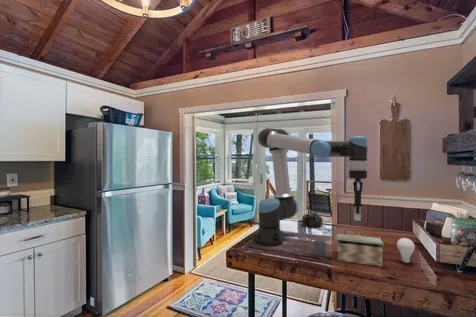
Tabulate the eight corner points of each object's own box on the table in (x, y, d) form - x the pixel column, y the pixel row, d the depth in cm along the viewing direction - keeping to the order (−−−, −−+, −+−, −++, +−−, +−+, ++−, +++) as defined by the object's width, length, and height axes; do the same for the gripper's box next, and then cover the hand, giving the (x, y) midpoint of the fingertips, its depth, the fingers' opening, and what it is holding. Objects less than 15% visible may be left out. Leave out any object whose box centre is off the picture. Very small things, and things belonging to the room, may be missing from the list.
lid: (336, 239, 116) (336, 237, 116) (337, 235, 126) (337, 233, 126) (383, 244, 108) (383, 242, 108) (379, 239, 119) (379, 237, 119)
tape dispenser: (354, 257, 124) (393, 253, 125) (354, 246, 123) (393, 242, 125) (338, 242, 141) (372, 239, 143) (337, 233, 141) (372, 230, 142)
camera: (302, 228, 167) (302, 213, 166) (301, 224, 176) (301, 210, 176) (323, 229, 164) (323, 214, 164) (321, 225, 174) (321, 210, 174)
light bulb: (408, 267, 108) (408, 241, 108) (393, 261, 114) (393, 237, 114) (418, 264, 110) (418, 239, 110) (403, 258, 116) (403, 235, 116)
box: (337, 260, 116) (337, 242, 116) (338, 251, 126) (337, 235, 126) (382, 266, 109) (382, 248, 109) (379, 256, 119) (379, 239, 119)
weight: (314, 255, 122) (314, 241, 122) (315, 251, 126) (315, 237, 126) (325, 257, 120) (325, 242, 120) (325, 253, 125) (325, 239, 124)
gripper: (368, 170, 110) (367, 224, 111) (365, 169, 122) (365, 217, 123) (349, 170, 113) (348, 222, 114) (349, 168, 125) (348, 216, 126)
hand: (357, 220), depth 118 cm, fingers closed
